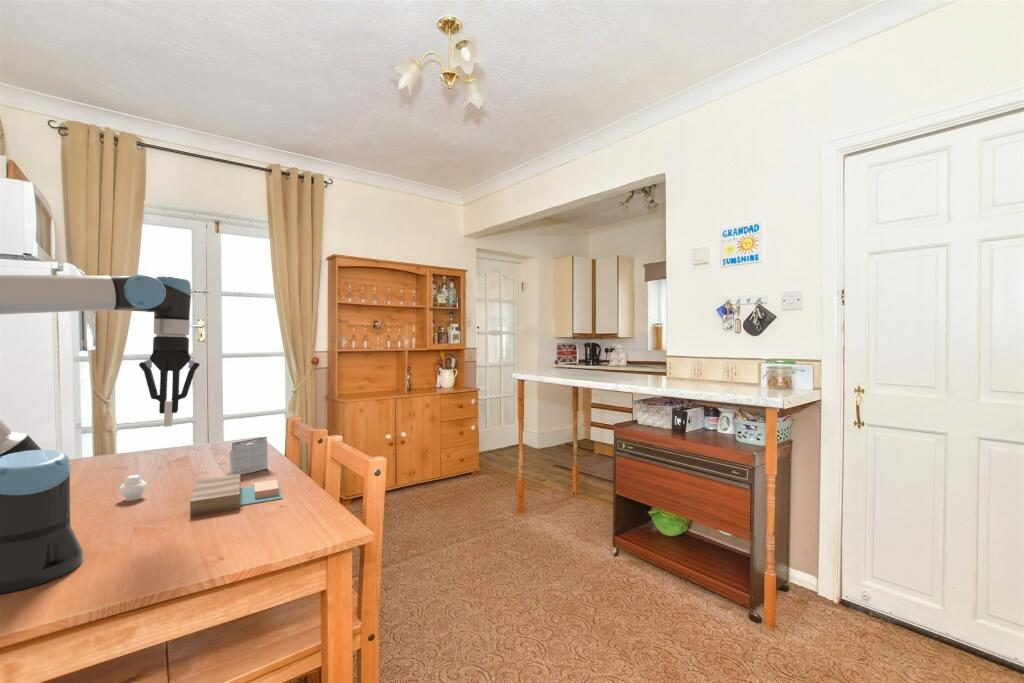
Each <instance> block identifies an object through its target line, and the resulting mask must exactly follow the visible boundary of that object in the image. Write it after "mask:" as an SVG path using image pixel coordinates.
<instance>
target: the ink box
mask: <svg viewBox="0 0 1024 683" xmlns="http://www.w3.org/2000/svg"><path fill="white" fill-rule="evenodd" d="M249 443H251V444H249ZM252 443H253V444H252ZM229 466H230V467H229V468H230V476H231V475H238V474H240V476H241V475H247V474H251V473H254V472H255V473H256V472H258V471H259V472H260V471H263V470H264V471H265V470H268V466H269V465H268V437H267V436H263V437H258V438H253V439H248V440H246V439H245V440H242V441H237V442H231V450H230V451H229Z"/></svg>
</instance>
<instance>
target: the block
mask: <svg viewBox="0 0 1024 683" xmlns="http://www.w3.org/2000/svg"><path fill="white" fill-rule="evenodd" d="M277 482H278V480H277V479H272V480H264V481H258V482H254V484H253V486H254V488H255V499H256V498H262V497H268V496H274V495H278V484H277Z"/></svg>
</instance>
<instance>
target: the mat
mask: <svg viewBox="0 0 1024 683" xmlns="http://www.w3.org/2000/svg"><path fill="white" fill-rule="evenodd" d="M277 484H278V495H274V496H268V497H262V498H256V499H255V488H254V485H251V486H250V485H249V486H243V487H240V507H242V506H248V505H255V504H260V503H265V502H271V501H279V500H283V495H282V492H281V487H280V483H279V481H277Z"/></svg>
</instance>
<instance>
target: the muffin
mask: <svg viewBox="0 0 1024 683" xmlns="http://www.w3.org/2000/svg"><path fill="white" fill-rule="evenodd" d="M147 486H148V483H147V482H146V481H145V480H143V479H142V477H141V476H140V475H139V474H132V475H129V476H127V477H125V481H124V482H123V484H122V485H120V486H119V489H118V490H119V492H120V495H121V496H122V497H123V498H124V499H125V501H127V502H130V501H136V500H140V499H141V498H142V496H143V494H144V493H145V491H146V488H147Z"/></svg>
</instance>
